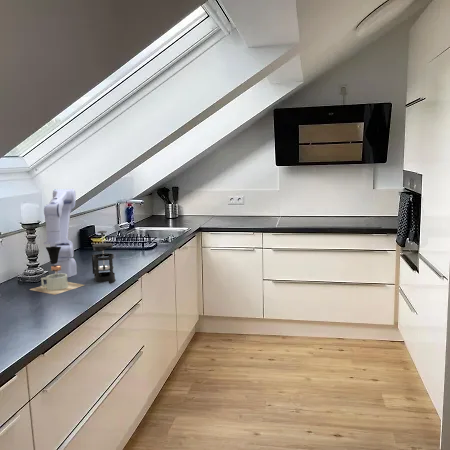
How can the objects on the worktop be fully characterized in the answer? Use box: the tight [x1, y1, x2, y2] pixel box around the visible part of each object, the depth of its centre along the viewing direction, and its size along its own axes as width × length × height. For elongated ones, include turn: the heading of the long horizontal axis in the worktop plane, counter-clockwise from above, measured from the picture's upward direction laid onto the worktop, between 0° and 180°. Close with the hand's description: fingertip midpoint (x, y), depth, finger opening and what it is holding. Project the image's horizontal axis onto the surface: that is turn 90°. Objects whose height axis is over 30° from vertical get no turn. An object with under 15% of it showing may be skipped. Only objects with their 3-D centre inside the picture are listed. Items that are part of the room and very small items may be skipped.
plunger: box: [50, 264, 63, 278], centre depth 199 cm, size 6×6×6 cm
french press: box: [91, 230, 116, 284], centre depth 211 cm, size 12×9×23 cm
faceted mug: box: [40, 273, 68, 290], centre depth 200 cm, size 11×9×5 cm
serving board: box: [29, 281, 85, 296], centre depth 200 cm, size 16×16×1 cm
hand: (54, 263), depth 202 cm, fingers open, 7 cm apart
